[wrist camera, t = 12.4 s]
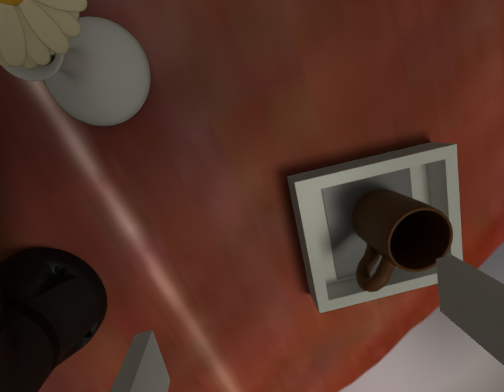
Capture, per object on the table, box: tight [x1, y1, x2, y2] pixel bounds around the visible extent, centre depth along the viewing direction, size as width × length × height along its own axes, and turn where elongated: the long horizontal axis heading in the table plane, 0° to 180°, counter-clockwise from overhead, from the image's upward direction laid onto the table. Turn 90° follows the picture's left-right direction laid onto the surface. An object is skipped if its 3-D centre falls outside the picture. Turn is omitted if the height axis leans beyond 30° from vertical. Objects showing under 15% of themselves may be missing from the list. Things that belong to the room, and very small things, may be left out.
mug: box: [352, 189, 453, 292], centre depth 36 cm, size 12×8×9 cm, turn 144°
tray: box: [287, 142, 463, 313], centre depth 40 cm, size 20×18×4 cm
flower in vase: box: [0, 0, 150, 126], centre depth 22 cm, size 13×11×25 cm
